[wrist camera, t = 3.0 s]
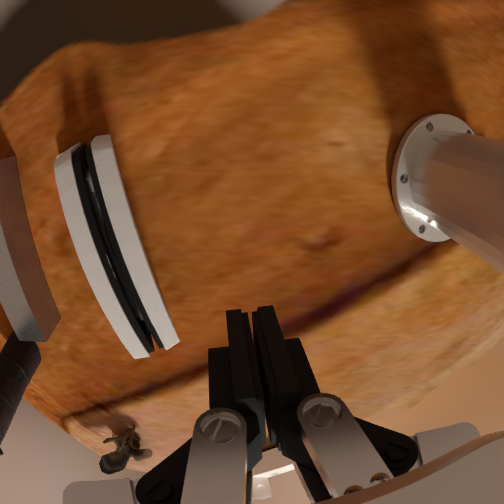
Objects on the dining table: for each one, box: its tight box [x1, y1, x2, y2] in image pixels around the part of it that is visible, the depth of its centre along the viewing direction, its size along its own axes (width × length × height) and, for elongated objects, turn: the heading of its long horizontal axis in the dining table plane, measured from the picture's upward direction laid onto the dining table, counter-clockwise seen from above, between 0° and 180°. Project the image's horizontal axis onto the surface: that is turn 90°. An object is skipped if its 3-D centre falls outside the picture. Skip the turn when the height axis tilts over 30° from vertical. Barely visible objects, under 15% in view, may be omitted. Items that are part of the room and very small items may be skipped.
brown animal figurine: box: [99, 426, 153, 474], centre depth 32 cm, size 8×8×10 cm
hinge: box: [54, 134, 180, 359], centre depth 19 cm, size 17×5×10 cm, turn 11°
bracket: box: [252, 447, 295, 500], centre depth 37 cm, size 13×7×8 cm, turn 119°
